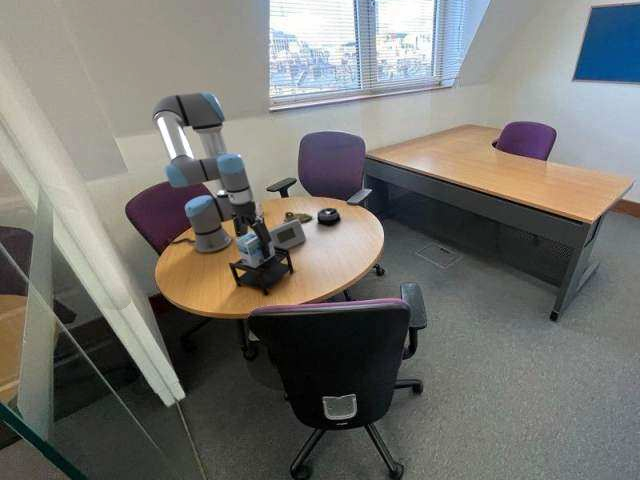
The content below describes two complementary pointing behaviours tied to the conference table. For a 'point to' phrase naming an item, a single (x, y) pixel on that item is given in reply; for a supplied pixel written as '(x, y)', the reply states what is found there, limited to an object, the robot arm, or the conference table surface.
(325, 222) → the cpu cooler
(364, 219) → the conference table surface
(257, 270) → the rack
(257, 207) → the mineral specimen
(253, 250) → the light bulb box
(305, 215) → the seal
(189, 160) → the robot arm
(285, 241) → the digital clock
